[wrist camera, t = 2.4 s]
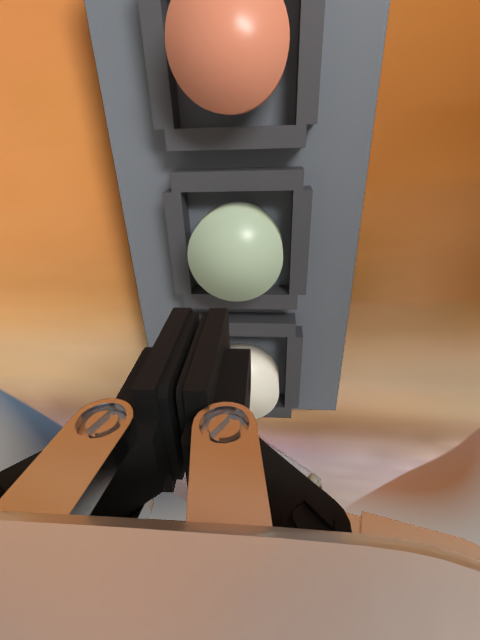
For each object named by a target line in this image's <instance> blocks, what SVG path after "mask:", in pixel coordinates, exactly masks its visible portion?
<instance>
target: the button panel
mask: <svg viewBox="0 0 480 640" xmlns="http://www.w3.org/2000/svg"><path fill="white" fill-rule="evenodd" d="M170 1H171V0H84V2H85V8H86V13H87V19H88V24H89V30H90V35H91V40H92V46H93V51H94V57H95V62H96V67H97V73H98V78H99V84H100V89H101V94H102V100H103V105H104V111H105V116H106V122H107V127H108V132H109V138H110V143H111V149H112V154H113V159H114V165H115V170H116V176H117V181H118V187H119V192H120V197H121V203H122V208H123V214H124V219H125V224H126V230H127V235H128V241H129V246H130V251H131V257H132V262H133V268H134V273H135V279H136V284H137V289H138V295H139V300H140V306H141V311H142V316H143V322H144V327H145V333H146V338H147V344H148V347H153V345H154V343H155V341H156V339H157V337H158V336H159V334H160V332H161V330H162V328H163V326H164V324H165V322H166V320H167V319H168V317H169V315H170V313H171V311H172V309H173V308H192V310H193V312H198V313H199V319H201V316H202V314H203V312H208V311H209V309H210V308H228V314H229V334H230V344H234V343H248V344H252V345H256V346H258V347H260V348H262V349H264V350H265V351H267V352H268V353H269V354H270V355H271V356H272V357H273V359H274V360H275V362H276V364H277V366H278V372H279V398H278V401H277V403H276V405H275V407H274V408H273V409H272V410H271V411H270V412H269V413H268V414H266V415H265V416H263V417H276V418H291V409H308V410H336V403H337V396H338V388H339V381H340V373H341V366H342V358H343V351H344V343H345V336H346V328H347V321H348V313H349V306H350V298H351V291H352V283H353V276H354V268H355V261H356V253H357V246H358V238H359V231H360V223H361V216H362V208H363V201H364V193H365V186H366V178H367V171H368V163H369V156H370V148H371V141H372V133H373V126H374V118H375V111H376V103H377V96H378V88H379V81H380V73H381V66H382V58H383V51H384V43H385V36H386V28H387V21H388V13H389V6H390V0H283V1H284V4H285V6H286V10H287V14H288V20H289V27H290V42H289V51H288V56H287V61H286V66H285V69H284V72H283V75H282V78H281V80H280V82H279V84H278V86H277V88H276V89H275V91H274V92H273V93H272V95H271V96H270V97H269V98H268V99H267V100H266V101H265V102H264V103H263V104H262V105H260V106H259V107H257V108H256V109H254V110H252V111H250V112H247V113H244V114H239V115H225V114H219V113H214V112H211V111H209V110H206V109H204V108H202V107H200V106H199V105H198V104H196V103H195V102H193V101H192V100H191V99H190V98H189V97H188V96H187V95H186V94H185V93H184V91H183V90H182V89H181V87H180V86H179V84H178V83H177V81H176V79H175V77H174V75H173V73H172V71H171V68H170V65H169V62H168V58H167V54H166V47H165V22H166V16H167V11H168V8H169V4H170ZM233 201H242V202H248V203H251V204H254V205H256V206H258V207H260V208H262V209H263V210H265V211H266V212H267V213H268V214H269V215H270V216H271V217H272V218H273V219H274V221H275V222H276V224H277V226H278V228H279V230H280V233H281V238H282V247H283V265H282V269H281V272H280V274H279V277H278V278H277V280H276V282H275V283H274V284H273V286H272V287H271V288H270V289H269V290H268V291H266V292H265V293H264V294H262V295H260V296H258V297H256V298H254V299H251V300H247V301H238V302H235V301H227V300H223V299H220V298H217V297H215V296H213V295H211V294H210V293H208V292H207V291H206V290H204V289H203V288H202V287H201V286H200V285H199V284H198V282H197V281H196V280H195V278H194V276H193V275H192V272H191V270H190V267H189V264H188V255H187V251H188V244H189V240H190V238H191V235H192V233H193V232H194V230H195V228H196V227H197V226H198V224H199V223H200V222H201V220H202V219H203V218H204V216H205V215H206V214H207V213H208V212H209V211H210V210H212V209H213V208H215V207H217V206H218V205H221V204H223V203H227V202H233Z"/></svg>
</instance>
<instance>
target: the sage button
mask: <svg viewBox="0 0 480 640" xmlns="http://www.w3.org/2000/svg"><path fill="white" fill-rule="evenodd" d="M187 255H188V264H189V267H190V270H191V272H192V275H193V276H194V278H195V280H196V281H197V282H198V284H199V285H200V286H201V287H202V288H203V289H204V290H206V291H207V292H208V293H210V294H211V295H213V296H215V297H217V298H220V299H223V300H227V301H235V302H238V301H247V300H251V299H254V298H256V297H258V296H260V295H262V294H264V293H265V292H266V291H268V290H269V289H270V288H271V287H272V286H273V284H274V283H275V282H276V280H277V278H278V277H279V274H280V272H281V269H282V265H283V247H282V238H281V233H280V230H279V228H278V226H277V224H276V222H275V221H274V219H273V218H272V217H271V216H270V215H269V214H268V213H267V212H266V211H265V210H263V209H262V208H260V207H258V206H256V205H254V204H251V203H248V202H242V201H233V202H227V203H223V204H221V205H218V206H217V207H215V208H213V209H212V210H210V211H209V212H208V213H207V214H206V215H205V216H204V218H203V219H202V220H201V222H200V223H199V224H198V226H197V227H196V228H195V230H194V232H193V233H192V235H191V238H190V240H189V244H188V251H187Z"/></svg>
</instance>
